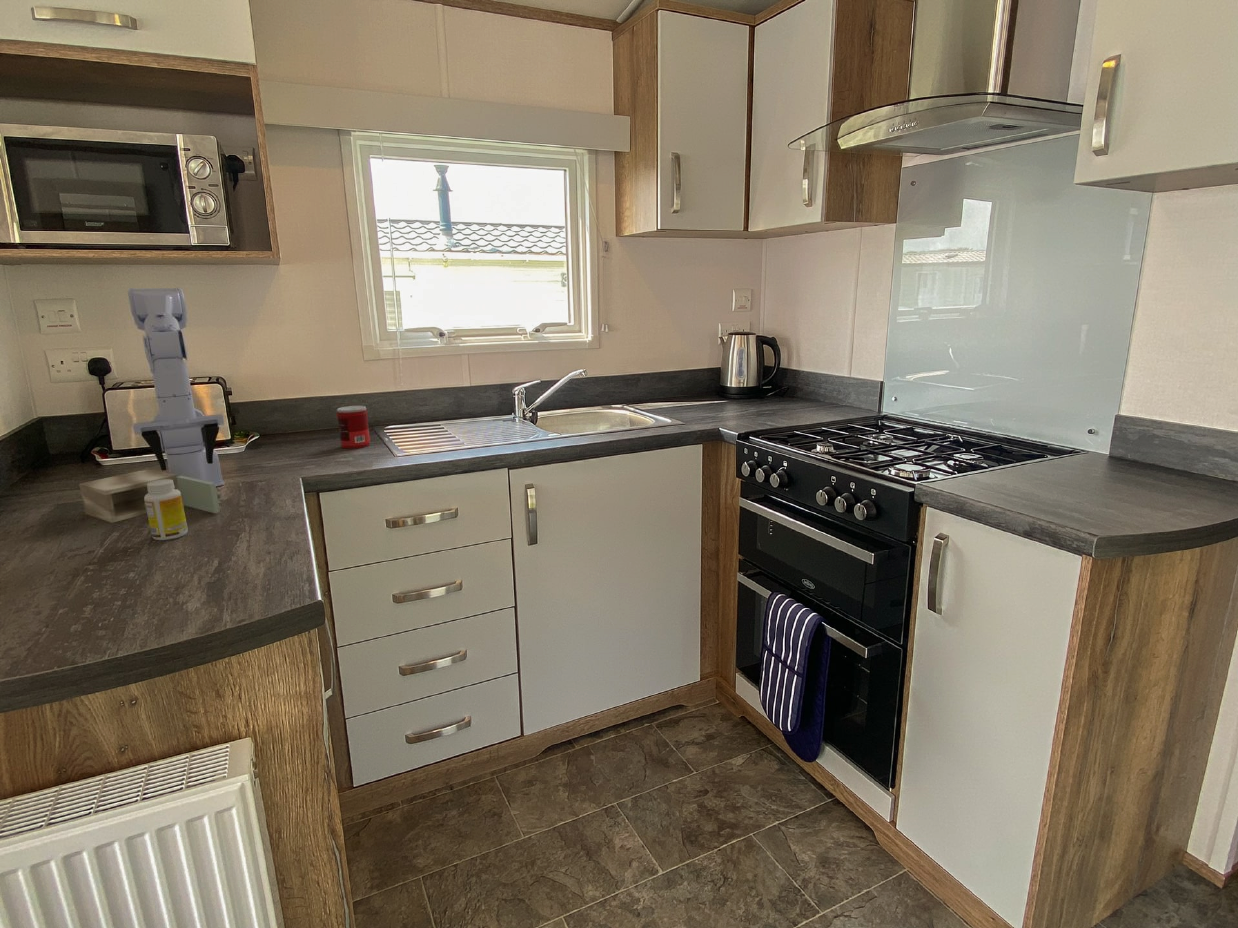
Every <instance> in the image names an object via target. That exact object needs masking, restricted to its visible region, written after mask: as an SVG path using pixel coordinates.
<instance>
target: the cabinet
mask: <svg viewBox="0 0 1238 928" xmlns="http://www.w3.org/2000/svg"><path fill="white" fill-rule="evenodd" d="M164 479H170V480H173V483H174V487H175V488H174V489H177V490H179V488H178V482H177V475H174V474H170V472H165V471H162V470H156V469H151V468H148V469H142V470H138V471H134V472H128V473H124V474H119V475H118V474H117V475H115V476H114V475H113V476H108V477H104V478H98V479H96V480H95V479H94V480H91V481H90V480H89V481H85V482H81V483H79V488H80V489H79V490H80V494H81V499H82V503H83V506H84V507H83V508H84V512H85V515H88V516H90V517H94V518H95V519H96V518H97V519H99V520H103V521H106V522H109V523H116V522H119V521H123V520H128V519H132V518H135V517H139V516H142V515H143V516H144V515H147V510H146V506H145V501H144V497H145V495H146V494H148V488H147V484H148V483H149V482H152V481H156V480H164Z"/></svg>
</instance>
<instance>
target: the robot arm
mask: <svg viewBox="0 0 1238 928" xmlns="http://www.w3.org/2000/svg"><path fill="white" fill-rule="evenodd" d="M127 297H128V301H129V307H130V311H131V315H132V317H133V321H134V325H136V327H137V329H138V330H141V331H144V332H145V333H144V334H145V335H142V342H143V349H144V353H145V358H146V360H147V363H148V364H149V368H150V369H149V371H150V373H151V374H152V381H153V386H154V392H155V397H156V401H157V407H158V411H159V412H157V413H156V414H155V415H154V416H153V417H154V418H153V420H151V421H145V422H143V421H142V422H134V423H132V425H131V426H132V429H133V434H134V435H135V436H137V435H141V437H142V438H143V439H144V441H145V442H146V443H147V445H148V446H149V448H150V449H151V451H152V452H153V454H154V456H155V457H156V460H157V461H158V464H159V467H160V471H161V472H165V471H167V469H168V471H169V472H168V473H170V474H174V475H177V477H178V476H185V477H190V478H194V479H199V480H203V481H208V482H212V483H215V486H216V487H221V486H224V485H225V484H226V483H225V482H224V480H223V476H222V471H221V469H222V468H221V464H220V459H219V455H218V452H217V451H216V450H215V445H216V441H217V439H218V434H219V432H220V426H224V425H225V421H224V415H223V414H221V413H220V414H207V415H204V414H203V412H202V411H201V410H199V409H197V408H195V404H194V396H193V394H192V393H193V391H192V387H191V381H190V376H189V370H188V363H187V362H188V359H189V355H188V349H187V342H186V337H185V334H184V333H183V329H184V328H187V323H188V317H187V314H188V311H187V306H186V301H185V300H186V299H185V294H184V291H183V289H182V288H181V287H179V286H178V287H176V288H174V287H172V288H168V287H166V288H162V287H161V288H159V287H158V288H134V287H129V289H128V291H127ZM183 359H185V360H183ZM163 452H164V454H163ZM164 455H165V456H166V461H167V465H168V466H167V465H166V461H165V457H164ZM167 467H168V468H167Z"/></svg>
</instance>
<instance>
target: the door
mask: <svg viewBox="0 0 1238 928" xmlns="http://www.w3.org/2000/svg"><path fill="white" fill-rule="evenodd" d="M177 482H178V488H179V491H180V492H181V497H182V502H183V506H185V507H190V508H193V509H196V510H200V511H204V512H209V513H212V514H219V513H221V511H220V505H219V499H221V498H222V495H221V492H220V491H217V486H215V483H212V482H208V481H203V480H199V479H194V478H190V477H185V476H178V477H177Z"/></svg>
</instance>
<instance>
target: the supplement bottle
mask: <svg viewBox="0 0 1238 928" xmlns="http://www.w3.org/2000/svg"><path fill="white" fill-rule="evenodd" d="M147 488H148V494H146V495H145V497H144V501H145V506H146V510H147V514H146V515H147V518H148V523H149V529H150V533H151V537H152V538H153V539H154V540H156V541H169V540H174V539H175V540H176V539H178V538H181V537H183V536H185V535H186V534H187V533H188V531H189V529H188V523H187V518H186V514H185V507H184V505H183V502H182V497H181V492H180V491H179V490H177V489H174V488H175V487H174V483H173V480H170V479H164V480H156V481H152V482H149V483H148V484H147Z"/></svg>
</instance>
